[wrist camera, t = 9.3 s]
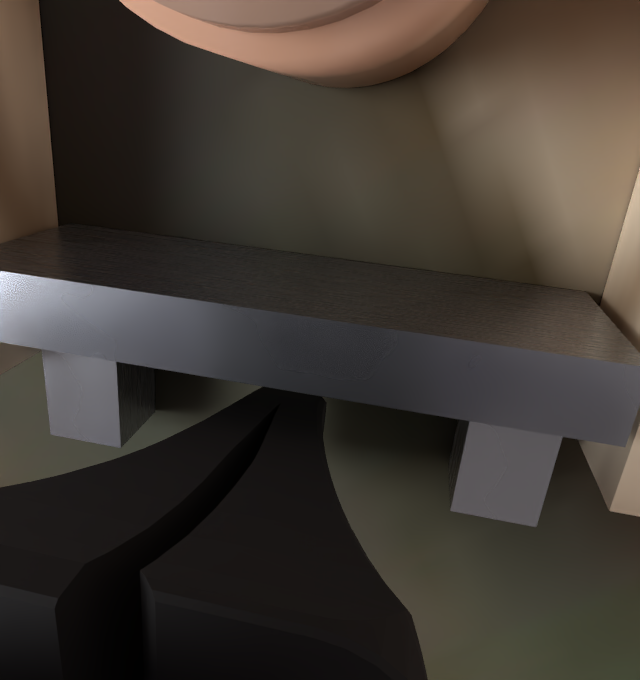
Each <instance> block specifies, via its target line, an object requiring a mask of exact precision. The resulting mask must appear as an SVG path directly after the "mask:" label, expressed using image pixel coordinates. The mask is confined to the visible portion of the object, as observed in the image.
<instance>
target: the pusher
mask: <svg viewBox="0 0 640 680" xmlns="http://www.w3.org/2000/svg"><path fill="white" fill-rule="evenodd" d="M0 342H2V343H8V344H14V345H20V346H26V347H32V348H38V349H42V357H43V366H44V375H45V385H46V394H47V403H48V413H49V422H50V431H51V435H56V436H61V437H66V438H72V439H77V440H82V441H87V442H93V443H98V444H103V445H108V446H114V447H119V448H121V447H122V446H123V445H124V444H125V443H126V442H127V441H128V440H129V439H130V438H131V437H132V436H133V435H134V434H135V432H136V431H137V430H138V429H139V428H140V427H141V426H142V425H143V424H144V423H145V422H146V421H147V420H148V419H149V418H150V417H151V416H152V415H153V414H154V413H155V374H154V368H157V369H163V370H169V371H175V372H181V373H187V374H193V375H198V376H204V377H210V378H216V379H222V380H228V381H234V382H240V383H246V384H252V385H258V386H264V387H270V388H276V389H282V390H288V391H294V392H299V393H305V394H311V395H317V396H323V397H329V398H335V399H341V400H347V401H353V402H359V403H365V404H371V405H377V406H383V407H389V408H395V409H400V410H406V411H412V412H418V413H424V414H430V415H436V416H442V417H448V418H454V419H458V421H457V425H456V430H455V435H454V440H453V445H452V449H451V454H450V459H449V464H448V465H449V491H450V511H454V512H459V513H464V514H470V515H475V516H480V517H485V518H491V519H496V520H501V521H506V522H512V523H517V524H522V525H527V526H533V527H537V523H538V520H539V516H540V513H541V510H542V506H543V503H544V499H545V496H546V492H547V489H548V486H549V482H550V479H551V475H552V472H553V469H554V465H555V462H556V458H557V455H558V451H559V448H560V445H561V441H562V438H563V437H567V438H573V439H579V440H585V441H591V442H597V443H602V444H608V445H614V446H620V447H626V444H627V441H628V438H629V435H630V432H631V429H632V426H633V424H634V421H635V418H636V415H637V412H638V409H639V406H640V353H639V352H638V351H637V350H636V348H635V347H634V346H633V345H632V344H631V343H630V342H629V340H628V339H627V338H626V337H625V336H624V335H623V334H622V332H621V331H620V330H619V329H618V328H617V327H616V325H615V324H614V323H613V322H612V321H611V320H610V319H609V317H608V316H607V315H606V314H605V313H604V312H603V311H602V309H601V308H600V307H599V306H598V305H597V304H596V302H595V301H594V300H593V299H592V298H591V297H590V296H589V294H588V293H587V292H585V291H577V290H570V289H562V288H554V287H547V286H539V285H532V284H524V283H517V282H509V281H502V280H494V279H487V278H479V277H472V276H464V275H457V274H449V273H442V272H434V271H427V270H419V269H412V268H404V267H397V266H389V265H382V264H374V263H367V262H359V261H352V260H344V259H337V258H329V257H322V256H314V255H307V254H299V253H292V252H284V251H277V250H269V249H262V248H254V247H247V246H239V245H232V244H224V243H217V242H209V241H201V240H194V239H186V238H179V237H171V236H164V235H156V234H149V233H141V232H134V231H126V230H119V229H111V228H104V227H96V226H89V225H81V224H74V223H70V224H66V225H63V226H59V227H56V228H52V229H49V230H45V231H42V232H38V233H35V234H32V235H28V236H25V237H21V238H18V239H14V240H11V241H7V242H4V243H0Z"/></svg>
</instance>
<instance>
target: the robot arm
mask: <svg viewBox="0 0 640 680" xmlns="http://www.w3.org/2000/svg"><path fill="white" fill-rule="evenodd" d="M325 413H326V401H325V400H324V399H323V397H322V396H316V395H310V394H304V393H298V392H292V391H286V390H281V389H275V388H269V387H262V388H260V389H258V390H256V391H254V392H252V393H251V394H249V395H247V396H245V397H244V398H242V399H240V400H239V401H237V402H235V403H234V404H232V405H230V406H228V407H227V408H225V409H223V410H221V411H220V412H218V413H216V414H214V415H212V416H211V417H209V418H207V419H205V420H203V421H202V422H199V423H197V424H195V425H193V426H191V427H189V428H187V429H185V430H183V431H181V432H179V433H177V434H175V435H173V436H171V437H169V438H167V439H165V440H163V441H160V442H158V443H156V444H153V445H151V446H149V447H146V448H144V449H141V450H138V451H136V452H133V453H130V454H128V455H125V456H122V457H120V458H117V459H114V460H111V461H107V462H104V463H100V464H97V465H94V466H90V467H87V468H83V469H80V470H76V471H73V472H69V473H66V474H62V475H58V476H54V477H50V478H45V479H41V480H36V481H32V482H27V483H22V484H17V485H11V486H6V487H1V488H0V680H428V679H427V674H426V669H425V665H424V661H423V656H422V652H421V648H420V644H419V641H418V637H417V633H416V630H415V626H414V622H413V619H412V615H411V614H410V612H409V611H408V610H407V609H406V608H405V606H404V605H403V604H402V603H401V602H400V600H399V599H398V598H397V597H396V596H395V594H394V593H393V592H392V591H391V590H390V588H389V587H388V586H387V585H386V583H385V582H384V581H383V579H382V578H381V576H380V575H379V573H378V572H377V571H376V569H375V568H374V566H373V565H372V563H371V562H370V560H369V559H368V557H367V555H366V553H365V552H364V550H363V548H362V546H361V545H360V543H359V541H358V539H357V538H356V536H355V534H354V532H353V530H352V529H351V527H350V525H349V523H348V520H347V518H346V516H345V514H344V512H343V509H342V507H341V504H340V502H339V499H338V497H337V494H336V491H335V488H334V485H333V482H332V479H331V475H330V472H329V468H328V464H327V459H326V455H325V449H324V442H323V431H324V422H325Z"/></svg>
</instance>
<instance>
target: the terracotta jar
mask: <svg viewBox="0 0 640 680" xmlns="http://www.w3.org/2000/svg"><path fill="white" fill-rule="evenodd" d="M119 1H120V2H122V3H123V4H124V5H125V6H126V7H127V8H128V9H130V10H131V11H133V12H134V13H135V14H137V15H138V16H140V17H141V18H143V19H144V20H145V21H147V22H148V23H150V24H151V25H152V26H154V27H155V28H157V29H159V30H161V31H163V32H165V33H167V34H169V35H171V36H173V37H175V38H177V39H179V40H181V41H183V42H184V43H187V44H190V45H193V46H196V47H199V48H202V49H205V50H208V51H210V52H213V53H216V54H219V55H222V56H226V57H229V58H232V59H235V60H238V61H241V62H244V63H247V64H250V65H253V66H256V67H260V68H263V69H266V70H269V71H272V72H275V73H278V74H281V75H284V76H287V77H290V78H293V79H297V80H300V81H303V82H306V83H309V84H314V85H319V86H325V87H334V88H354V87H364V86H371V85H375V84H379V83H383V82H387V81H390V80H393V79H395V78H398V77H400V76H403V75H405V74H408V73H410V72H412V71H414V70H415V69H417V68H419V67H421V66H422V65H424V64H426V63H428V62H429V61H431V60H432V59H433V58H435V57H436V56H438V55H439V54H440V53H442V52H443V51H444V50H446V49H447V48H448V47H449V46H450V45H451V44H452V43H454V42H455V41H456V40H457V39H458V38H459V37H460V36H461V35H462V34H463V33H464V32H465V31H466V30H467V29H468V28H469V26H470V25H471V24H472V23H473V22H474V20H475V19H476V18H477V17H478V16H479V14H480V13H481V12H482V11H483V9H484V8H485V6H486V5H487V3H488V2H489V0H119Z"/></svg>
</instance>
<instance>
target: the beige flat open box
mask: <svg viewBox="0 0 640 680" xmlns="http://www.w3.org/2000/svg"><path fill="white" fill-rule="evenodd" d="M56 227H58V216H57V205H56V194H55V182H54V171H53V159H52V148H51V136H50V125H49V114H48V102H47V91H46V79H45V68H44V56H43V45H42V33H41V22H40V11H39V0H0V243H4V242H7V241H11V240H14V239H18V238H21V237H25V236H28V235H32V234H35V233H38V232H42V231H45V230H49V229H52V228H56ZM599 307H600V308H601V309H602V311H603V312H604V313H605V314H606V315H607V316H608V317H609V319H610V320H611V321H612V322H613V323H614V324H615V325H616V327H617V328H618V329H619V330H620V331H621V332H622V334H623V335H624V336H625V337H626V338H627V339H628V340H629V342H630V343H631V344H632V345H633V346H634V347H635V348H636V350H637V351H638V352H639V353H640V169H639V173H638V176H637V180H636V183H635V186H634V190H633V193H632V197H631V200H630V204H629V207H628V210H627V214H626V217H625V221H624V224H623V228H622V231H621V234H620V238H619V241H618V245H617V248H616V252H615V255H614V258H613V262H612V265H611V269H610V272H609V276H608V279H607V282H606V286H605V289H604V293H603V296H602V300H601V303H600V306H599ZM40 351H42V349H38V348H32V347H26V346H20V345H14V344H8V343H2V342H0V375H1V374H3V373H4V372H6V371H8V370H10V369H11V368H13V367H15V366H16V365H18V364H20V363H21V362H23V361H25V360H26V359H28V358H30V357H32V356H33V355H35V354H37V353H38V352H40ZM578 442H579V444H580V446H581V448H582V451H583V453H584V455H585V458H586V460H587V462H588V464H589V467H590V469H591V471H592V473H593V476H594V478H595V480H596V482H597V485H598V487H599V489H600V491H601V494H602V496H603V498H604V500H605V503H606V505H607V507H608V509H609V511H612V512H617V513H623V514H628V515H634V516H639V517H640V406H639V409H638V412H637V415H636V418H635V421H634V424H633V426H632V429H631V432H630V435H629V438H628V441H627V444H626V447H620V446H614V445H608V444H602V443H597V442H591V441H585V440H579V439H578Z"/></svg>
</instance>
